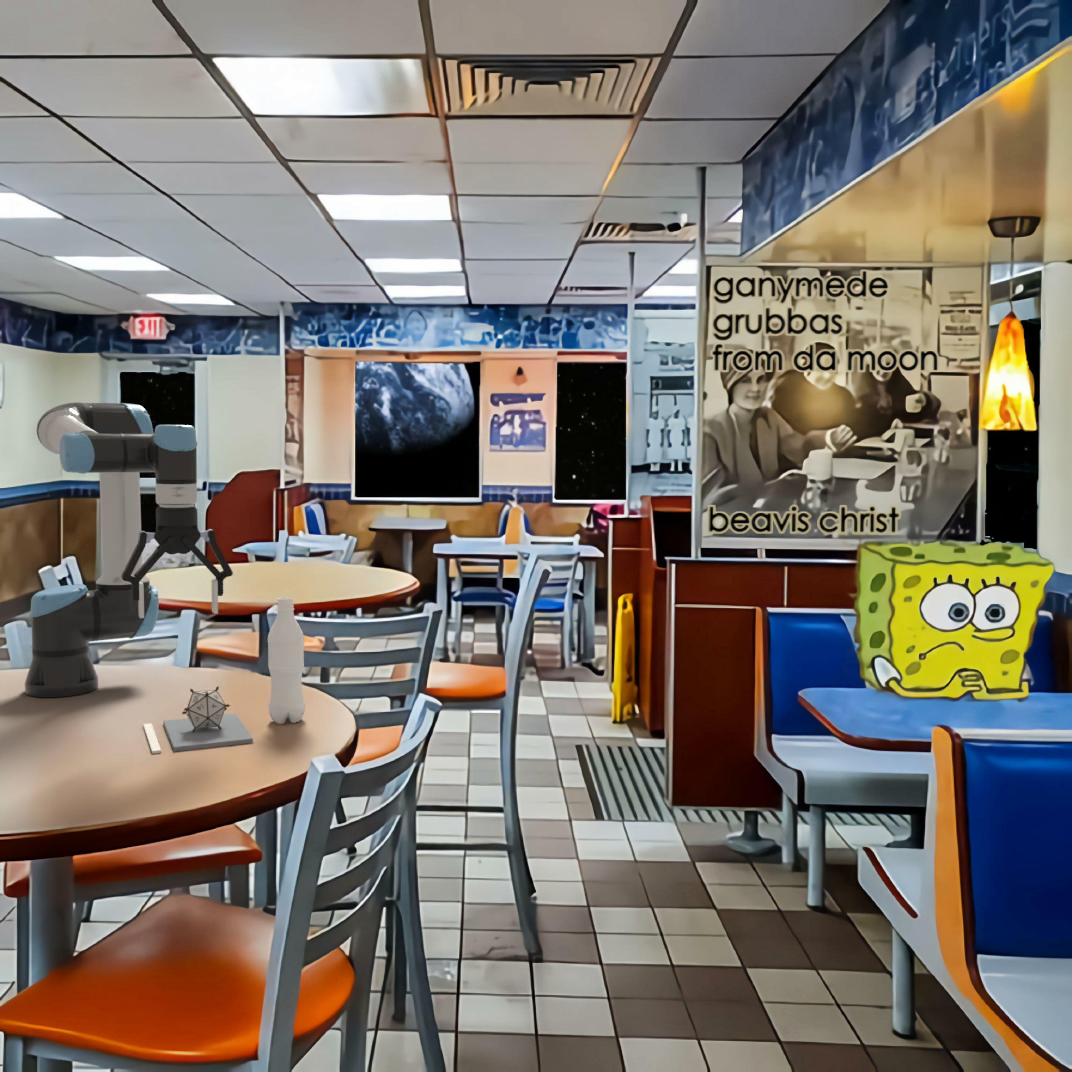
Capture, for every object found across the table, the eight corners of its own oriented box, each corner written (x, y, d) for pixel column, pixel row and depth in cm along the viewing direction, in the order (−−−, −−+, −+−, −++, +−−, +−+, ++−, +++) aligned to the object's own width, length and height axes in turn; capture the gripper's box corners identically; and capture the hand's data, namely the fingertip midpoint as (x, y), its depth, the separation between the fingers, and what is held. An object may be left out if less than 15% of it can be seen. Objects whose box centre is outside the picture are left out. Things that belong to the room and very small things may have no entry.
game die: (212, 750, 202) (214, 717, 196) (172, 733, 203) (173, 699, 196) (235, 718, 209) (239, 685, 203) (197, 701, 210) (199, 668, 203)
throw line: (143, 726, 208) (143, 724, 208) (151, 725, 208) (151, 723, 208) (152, 753, 190) (152, 751, 190) (161, 752, 190) (161, 750, 190)
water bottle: (312, 718, 215) (310, 596, 213) (292, 727, 208) (290, 601, 206) (281, 715, 217) (279, 595, 215) (261, 723, 210) (259, 599, 208)
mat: (163, 724, 209) (163, 720, 209) (235, 717, 215) (235, 713, 215) (174, 751, 191) (174, 747, 191) (252, 742, 197) (252, 738, 197)
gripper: (108, 508, 193) (110, 622, 195) (246, 506, 204) (247, 614, 206) (105, 505, 200) (108, 615, 202) (239, 502, 211) (240, 607, 213)
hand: (178, 614), depth 204 cm, fingers open, 13 cm apart
